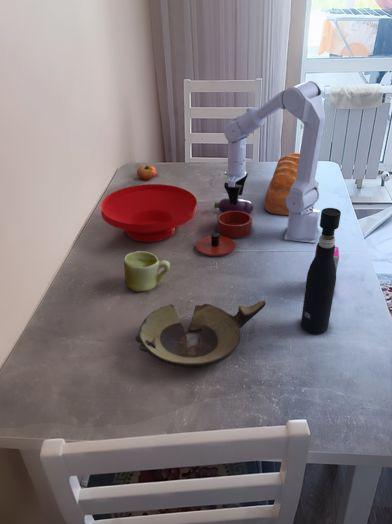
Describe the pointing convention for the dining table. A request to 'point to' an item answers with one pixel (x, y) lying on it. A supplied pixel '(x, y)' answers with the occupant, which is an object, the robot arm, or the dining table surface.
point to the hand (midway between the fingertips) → (236, 199)
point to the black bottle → (321, 277)
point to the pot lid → (215, 245)
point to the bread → (281, 184)
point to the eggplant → (234, 206)
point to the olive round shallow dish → (204, 318)
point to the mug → (143, 270)
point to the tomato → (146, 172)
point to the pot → (234, 224)
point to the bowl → (149, 210)
